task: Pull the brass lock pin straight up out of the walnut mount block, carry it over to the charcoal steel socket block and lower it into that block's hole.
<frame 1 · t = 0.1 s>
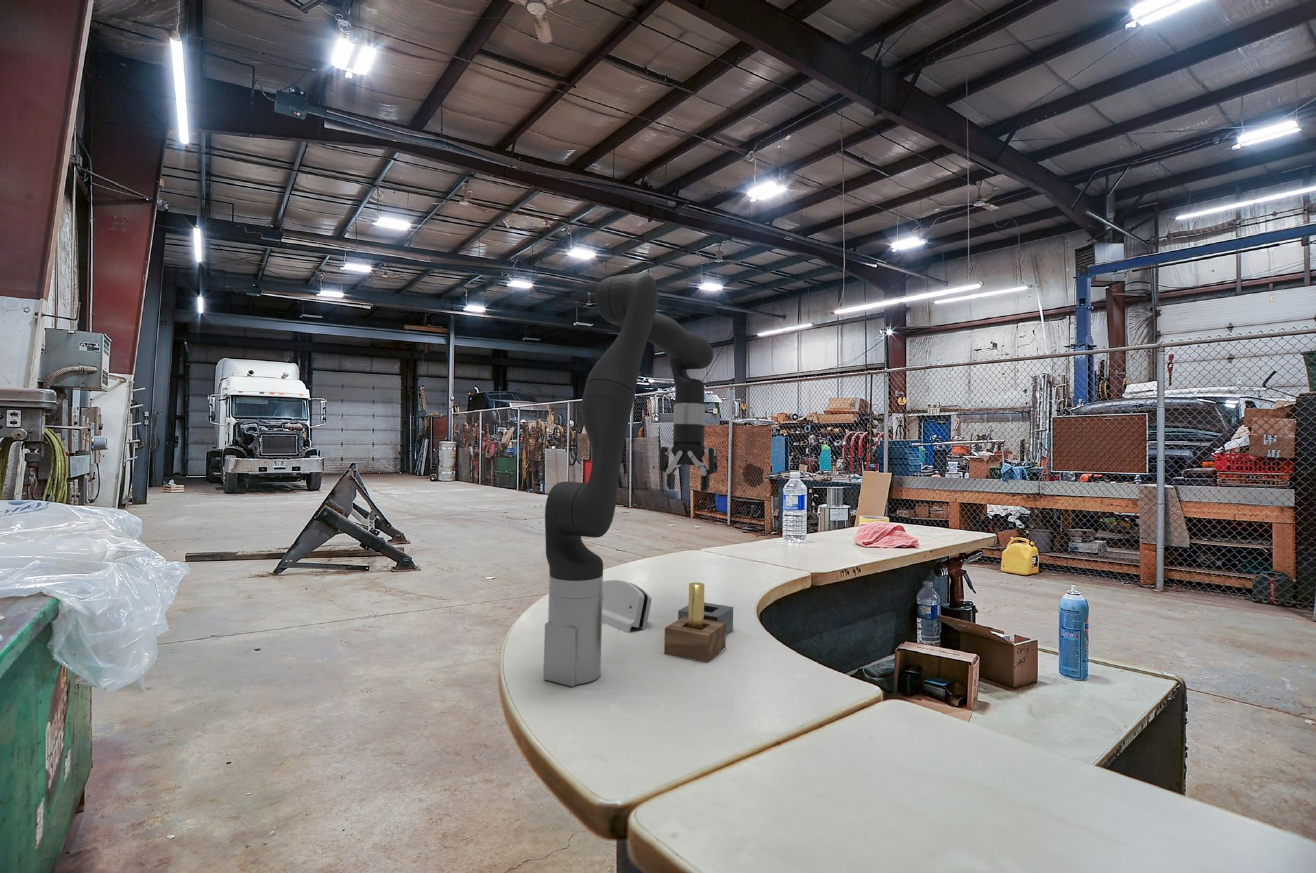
hand: (687, 490, 144), 29 cm above the worktop, tool pointing down, fingers open, 8 cm apart
mount: (695, 650, 117), on the worktop
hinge: (619, 622, 136), on the worktop
pin: (695, 651, 117), resting in mount
socket block: (705, 631, 129), on the worktop
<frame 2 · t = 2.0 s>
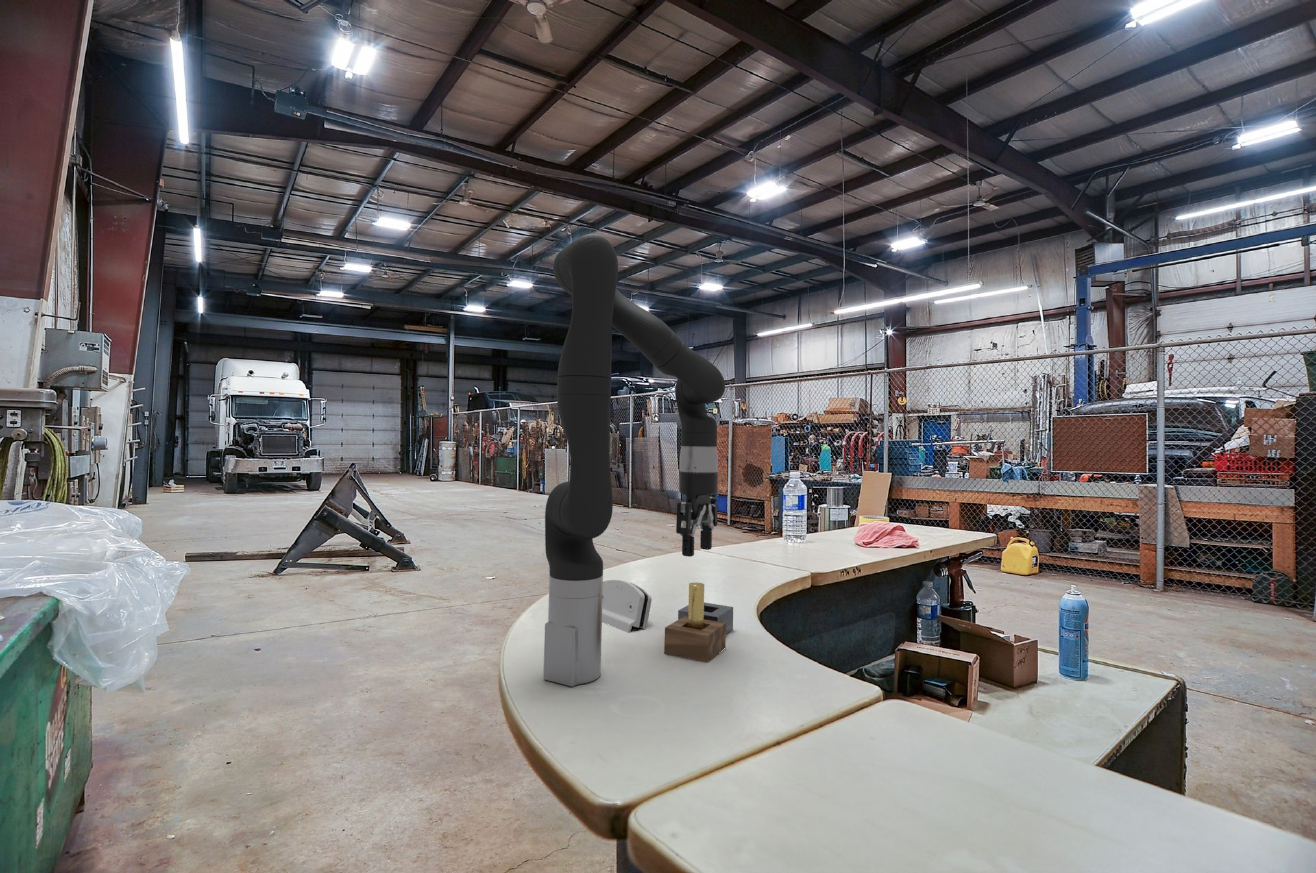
hand: (697, 552, 117), 19 cm above the worktop, tool pointing down, fingers open, 8 cm apart
nothing on the worktop moved.
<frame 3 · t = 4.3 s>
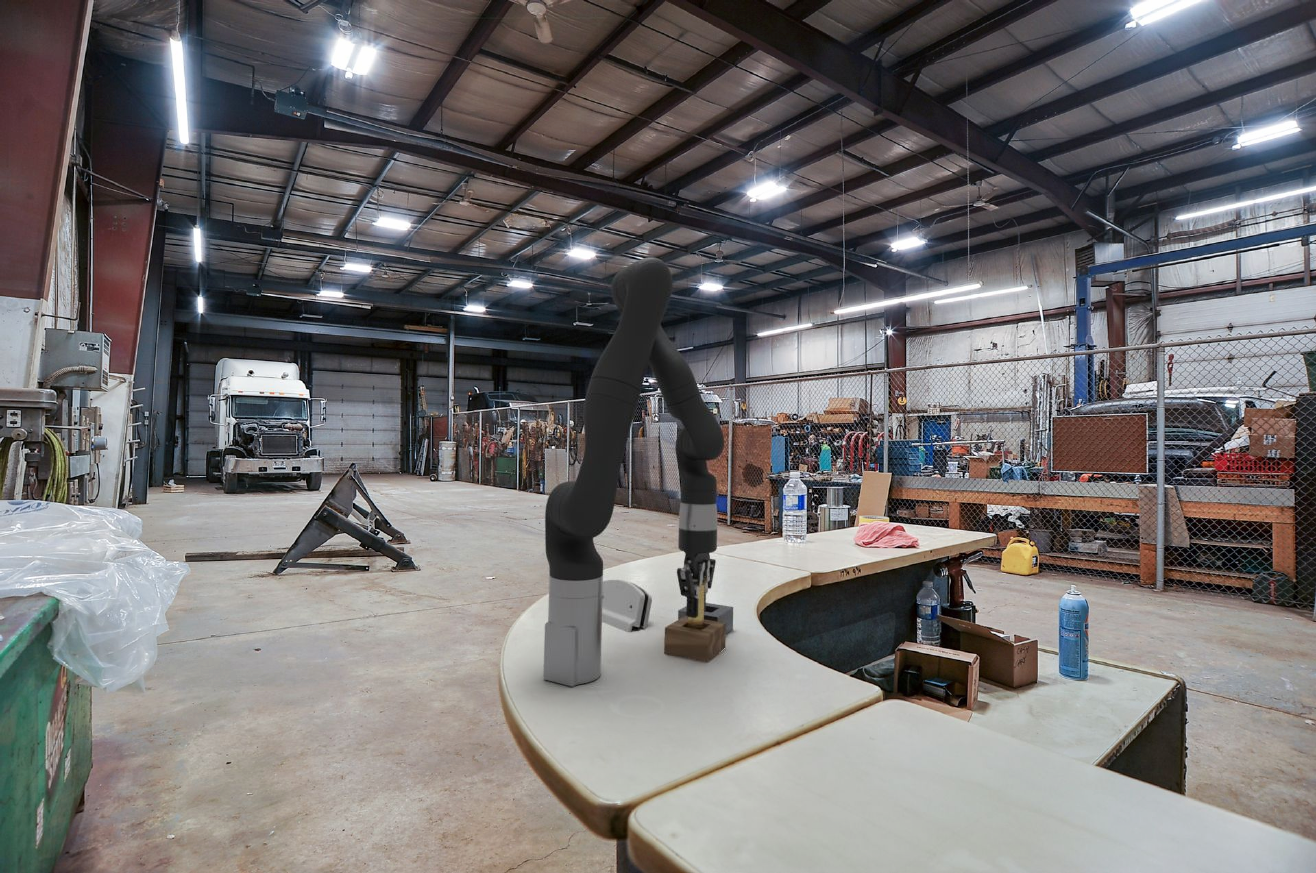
hand: (696, 614, 117), 7 cm above the worktop, tool pointing down, fingers closed on pin, 3 cm apart
pin: (695, 651, 117), resting in mount, touching gripper
everything else where it was.
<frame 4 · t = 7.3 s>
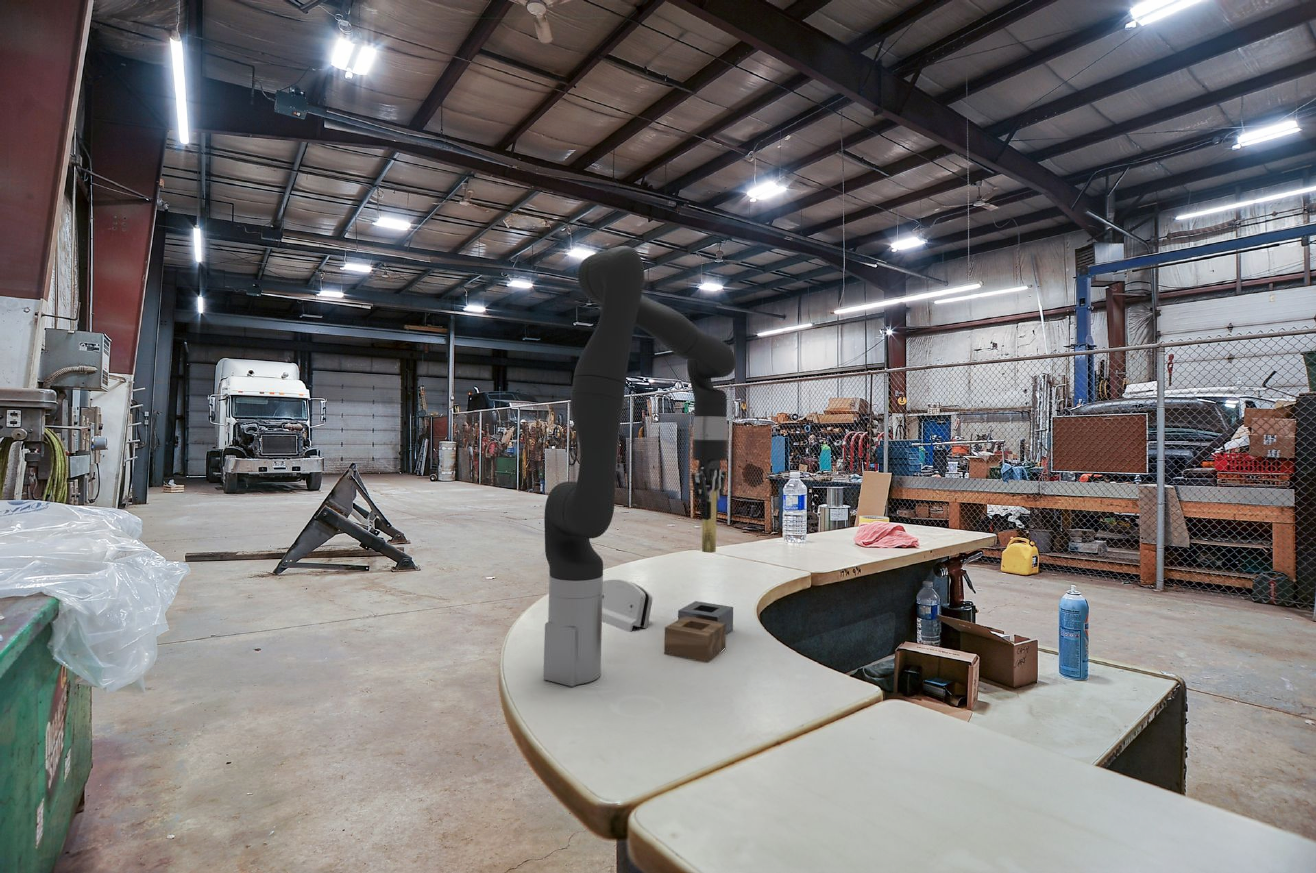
hand: (709, 517, 129), 25 cm above the worktop, tool pointing down, fingers closed on pin, 3 cm apart
pin: (708, 551, 129), point 17 cm above the worktop, touching gripper
everything else where it was.
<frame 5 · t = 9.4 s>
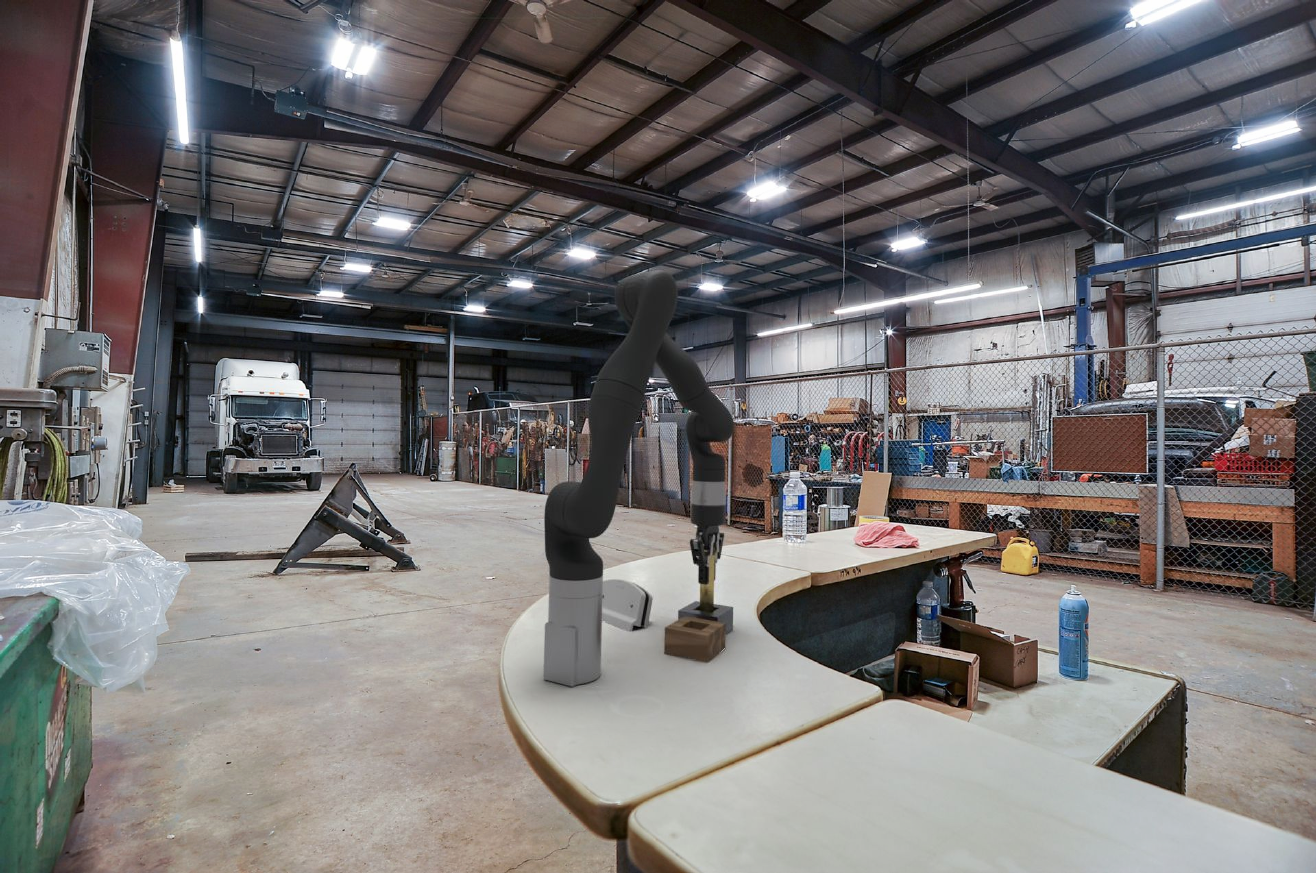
hand: (706, 581, 129), 11 cm above the worktop, tool pointing down, fingers closed on pin, 3 cm apart
pin: (706, 615, 129), point 4 cm above the worktop, touching gripper
everything else where it was.
when the fingers open (8 cm above the worktop, at t = 10.7 s): pin stays where it is, resting in socket block.
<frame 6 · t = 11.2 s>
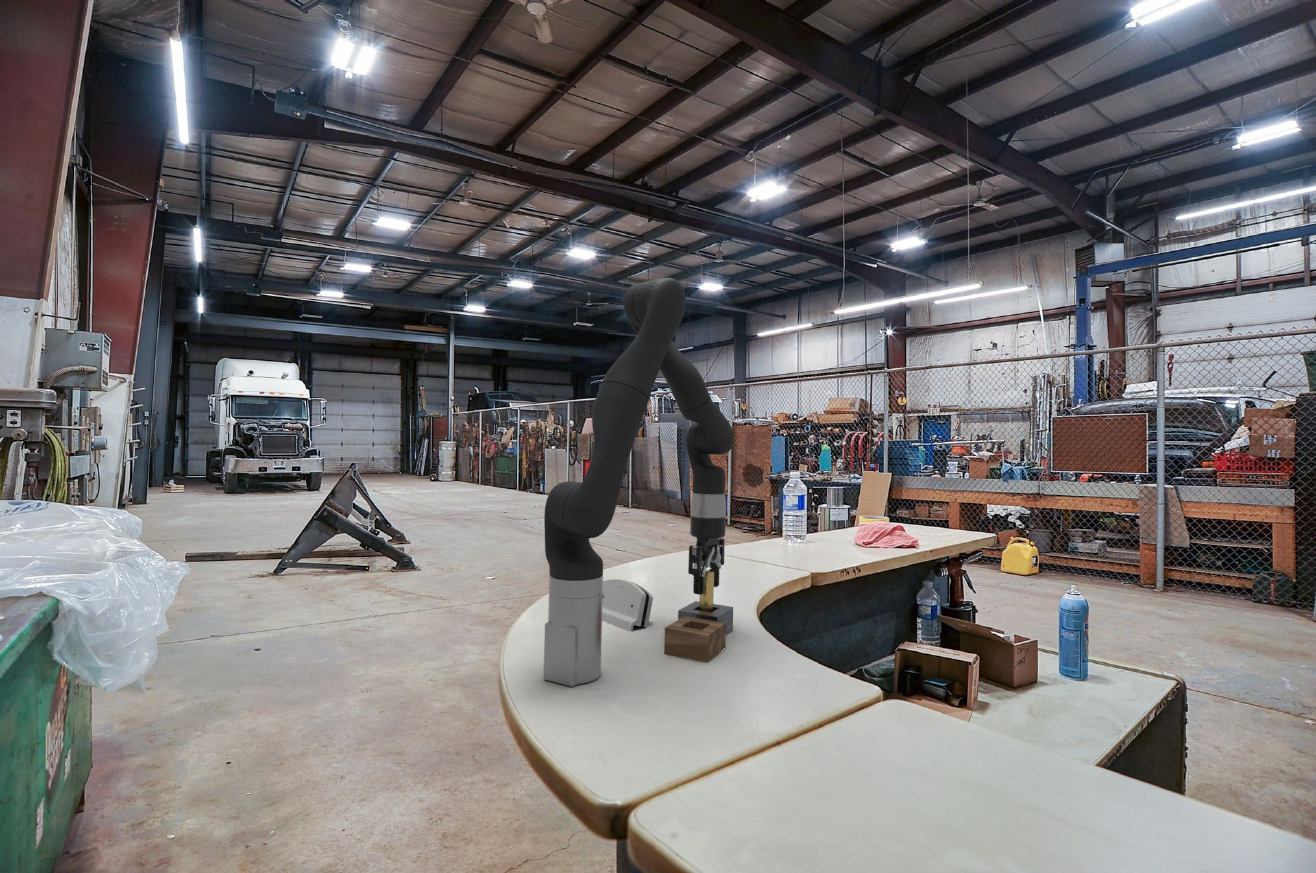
hand: (706, 589, 129), 9 cm above the worktop, tool pointing down, fingers open, 8 cm apart
pin: (705, 632, 129), resting in socket block
everything else where it was.
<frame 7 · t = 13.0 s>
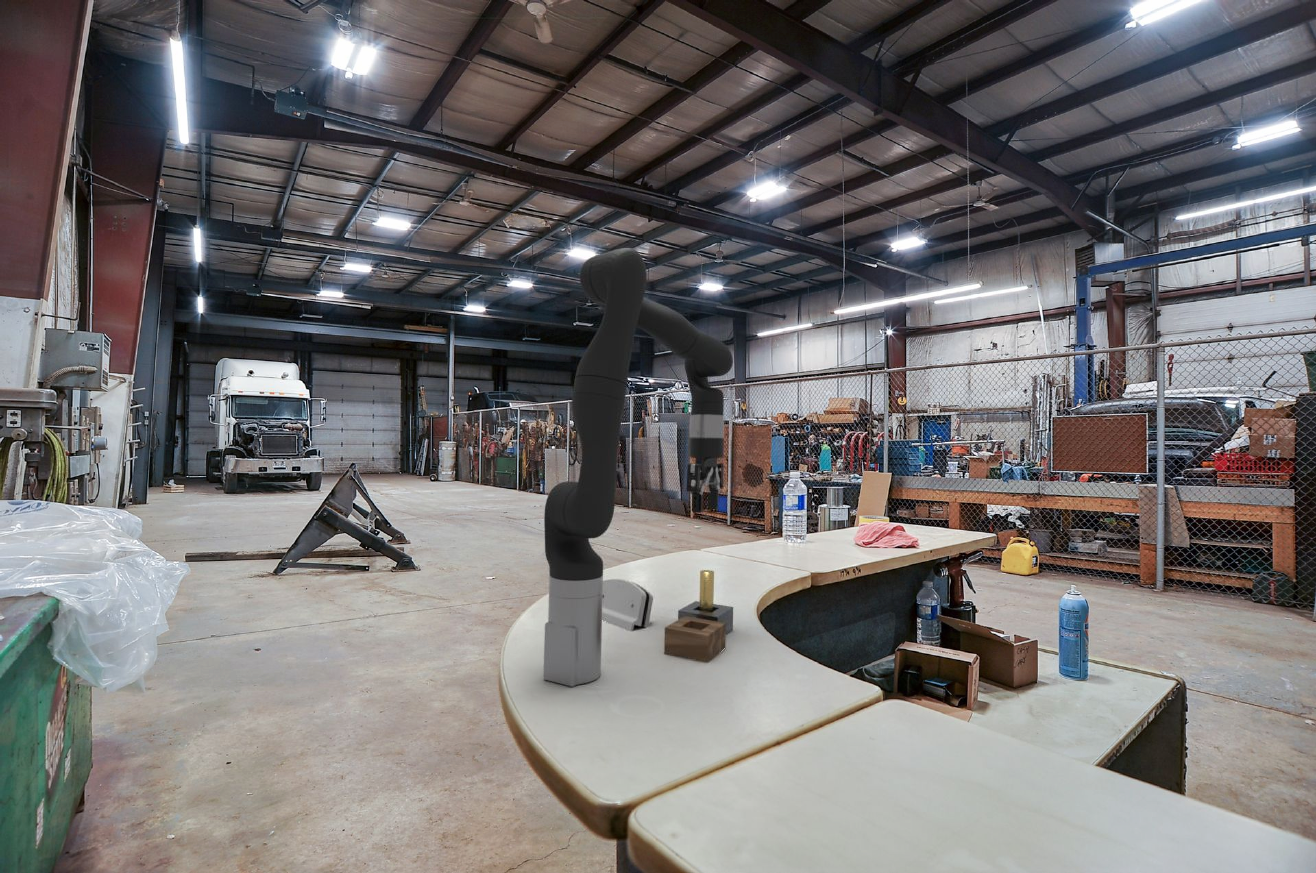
hand: (705, 510, 130), 26 cm above the worktop, tool pointing down, fingers open, 8 cm apart
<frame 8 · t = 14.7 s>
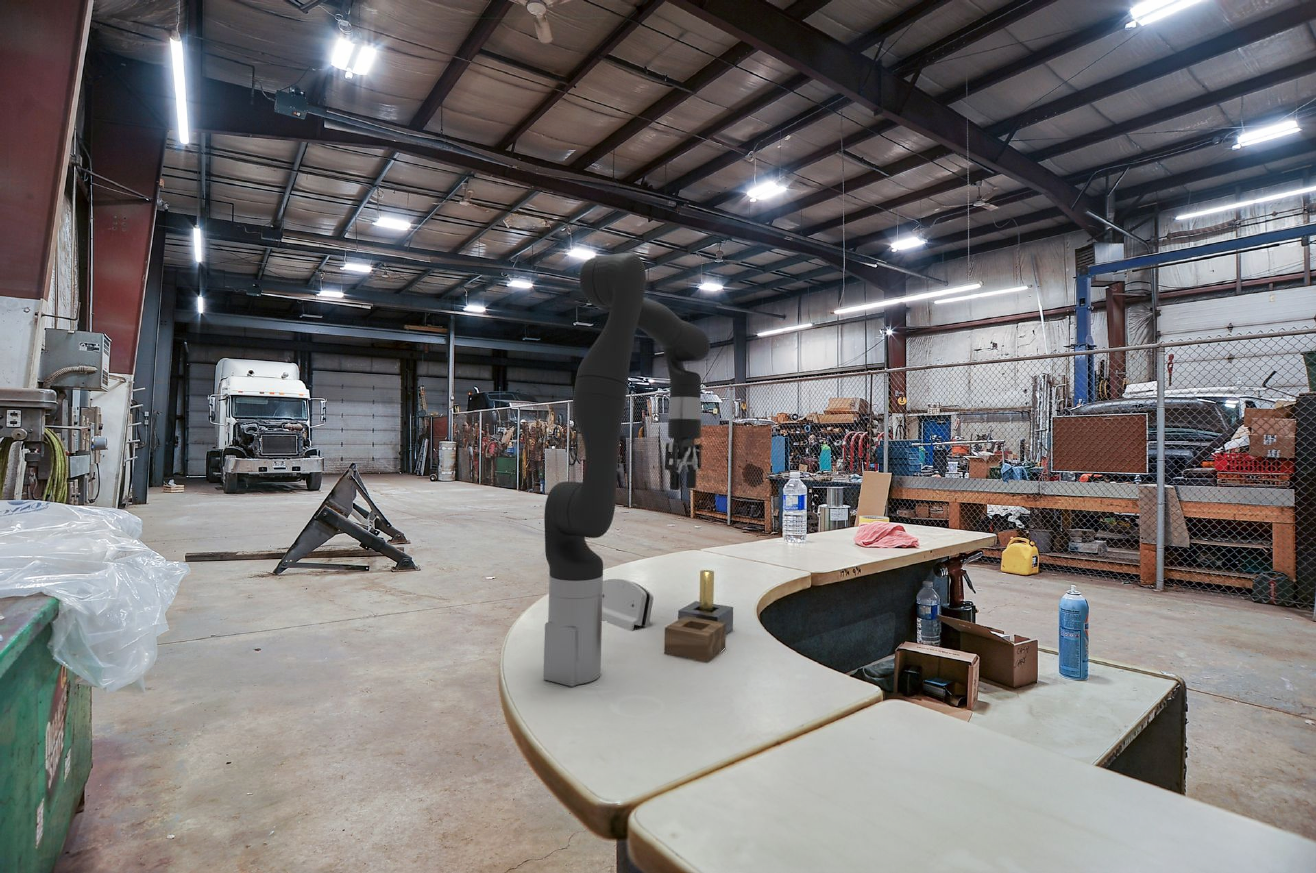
hand: (683, 488, 137), 30 cm above the worktop, tool pointing down, fingers open, 8 cm apart
at the end: pin 0.0 cm off-centre on the socket block, point 0.0 cm above the socket block's base; pin tilted 0°; the gripper is holding nothing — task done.
